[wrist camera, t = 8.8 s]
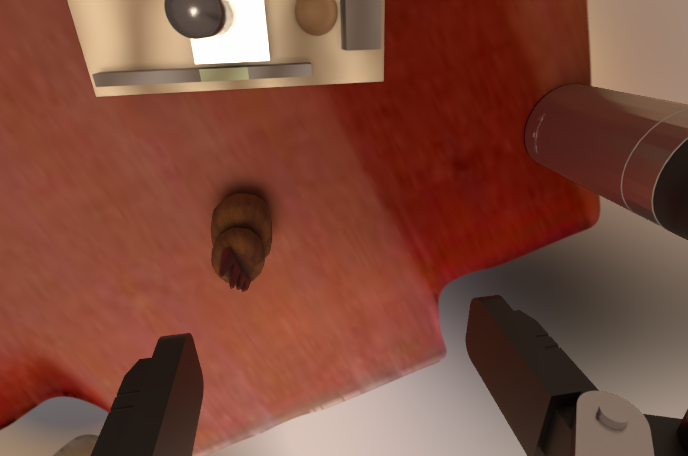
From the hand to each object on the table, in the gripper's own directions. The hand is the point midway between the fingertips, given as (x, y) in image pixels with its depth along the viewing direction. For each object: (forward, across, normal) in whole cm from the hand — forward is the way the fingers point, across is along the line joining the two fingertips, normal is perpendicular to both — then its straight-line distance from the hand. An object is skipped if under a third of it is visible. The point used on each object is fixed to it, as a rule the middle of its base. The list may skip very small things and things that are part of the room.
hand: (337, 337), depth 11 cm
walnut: (+31, -3, -9) cm, 32 cm away
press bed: (+32, +4, -9) cm, 34 cm away
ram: (+31, +4, -9) cm, 32 cm away
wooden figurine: (+32, +6, +10) cm, 34 cm away
